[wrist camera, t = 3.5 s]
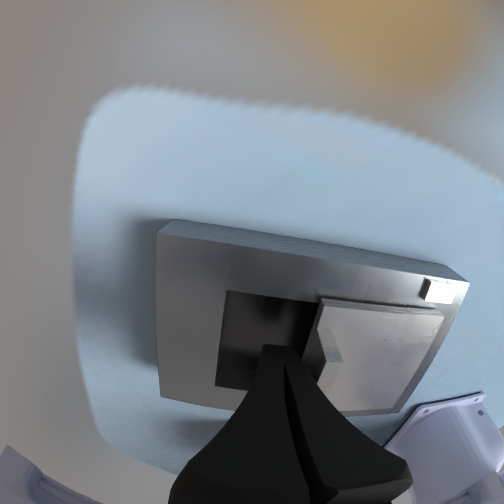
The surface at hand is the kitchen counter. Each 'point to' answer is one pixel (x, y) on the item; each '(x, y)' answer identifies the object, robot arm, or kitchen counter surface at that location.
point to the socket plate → (270, 303)
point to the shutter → (367, 351)
